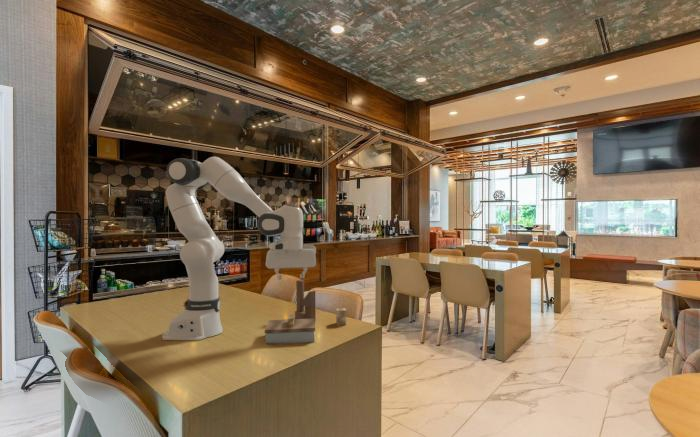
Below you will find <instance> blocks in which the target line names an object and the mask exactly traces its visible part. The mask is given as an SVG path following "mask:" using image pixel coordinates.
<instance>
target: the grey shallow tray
mask: <svg viewBox="0 0 700 437" xmlns="http://www.w3.org/2000/svg"><path fill="white" fill-rule="evenodd" d="M296 343H297V344H298V343H299V344H300V343H301V344H303V343H315V331H304V332H283V333H265V344H266V345H277V344H280V345H281V344H296Z"/></svg>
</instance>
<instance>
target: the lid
mask: <svg viewBox="0 0 700 437" xmlns="http://www.w3.org/2000/svg"><path fill="white" fill-rule="evenodd" d="M304 331H314V332H316V321H315V318H312V319H295V313H288V316H287V319H270V320H268V322H267V324H266V326H265V329H264V334H266V333H283V332H304Z"/></svg>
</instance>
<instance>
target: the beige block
mask: <svg viewBox="0 0 700 437" xmlns="http://www.w3.org/2000/svg"><path fill="white" fill-rule="evenodd" d="M335 311H336V312H335V313H336V316H335V318H336V326H337V327H338V326H347V309H346V308H345V307H337V308H336V310H335Z"/></svg>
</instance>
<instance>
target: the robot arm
mask: <svg viewBox="0 0 700 437" xmlns="http://www.w3.org/2000/svg"><path fill="white" fill-rule="evenodd" d="M166 173H167V174H166V175H167V177H168V179H169V180H170V181H171V182H173V183H172V184H171V185H169V186H168V187H167V188H166V190H165V197H166V202H167V206H168V209H169V211H170V213H171V216H172V218H173V221H174V223H175V226H176V227H177V229H178V231H179V232H180V234H182V235H183V236H184V237H185V238H186V240H187V241H188V242H186V243H185V244H183V246H181V248H180V251H179V258H180V261H181V262H182V264H184V266H185V269H186V273H187V278H188V283H189V284H188V285H189V290H188V291H189V294H188V295H189V298H187V299H186V301H184V302H183V305H182V306H183V307H184V309H183V310H181V311H180V312H179V313H178V314H177V315H175V316H174V317H173V318H172V319H171V321H170V322H169V326H168V330H166V331H165V332H164V333H163V334H162V336H161V339H162V340H163V341H201V340H203V339H206V338H211V337H213V336H217V335H220V334H221V333H222V332H224V329H223V326H222V322H221V317H220V316H221V315H220V308H221V300H220V296H219V277H218V276H217V274H216V269H215V265H214V263H215V262H218V261H219V260H220V259H221V258H222V257H223V255H224V253H225V245H224V243H223V242H222V241H221V240H220V239H219V238H218V236H217V234H216V233H215V232H214V230H213V229H212V228H211V226H210V225H209V223H208V221H207V219H206V217H205V214H204V213H203V210H202V208H201V206H200V203H199V201H198V200H197V197H196V192H200V191H201V190H202V189H204V188H205V187H206V186H208V185H209V184H210V185H211V186H212V187H213V188H214V189H215V190H216V191H217V192H218V193H219V194H220V195H222V196H223V197H225V198H226V199H227V200H230V201H231V202H235V203H239V204H241V205H243V206H245V207H247V208H248V209H249V210H250V211H252V212H253V213H254V214H255V215H256V216H257V217H258V219H257V222H256V226H257V230H258V231H259V233H260V234H262V235H263V236H266V237H280V240H277V241H274V242H272V243H269V245H268V248H269V250H268V251H267V252H266V256H265V257H266V258H265V267H266V268H267V269H274V272H275V274H276V279H277V280H278V281H279V280H280V281H281V280H283V279H282V278H283V277H282V276H283V275H282V274H280V273H279V272H280V269H295V268H302V270H303V271H302V273H300V274H299V278H300V280H303V279H306V278H305V276H306V273H307V272H308V268H314V267H316V265H317V259H316V254H317V248H316V246H315V245H313V244H304V236H303V229H304V214H303V213H304V212H303V210H302V208H301V207H299V206H297V205H292V204H286V203H285V204H283V205H282V206H281V207H279V208H277V209H276V210H274V209H273V208H272V207H270V206H269V205H268V204H267V203H266V202H265V201H264V200H263V199H262V198H261V197H259V196H258V195H257V194H256V192H254V190H253V189H252V188H251V187H250V185H249V184H248V183H247V182H246V180H245V179H244V178H243V177H242V175H241V174H240V173H239V172H238V171H237V170H236V169H235V168H234V167H233V166H231V164H229V163H228V162H227V161H225V160H224V159H222V158H220V157H218V156H210V157H208V158H207V159H205V160H204V161H203V162H200V161H198V160H195V159H190V158H184V157H180V158H174V159H172V160H171V161H170V162H169V163H168V165H167V168H166Z"/></svg>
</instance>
